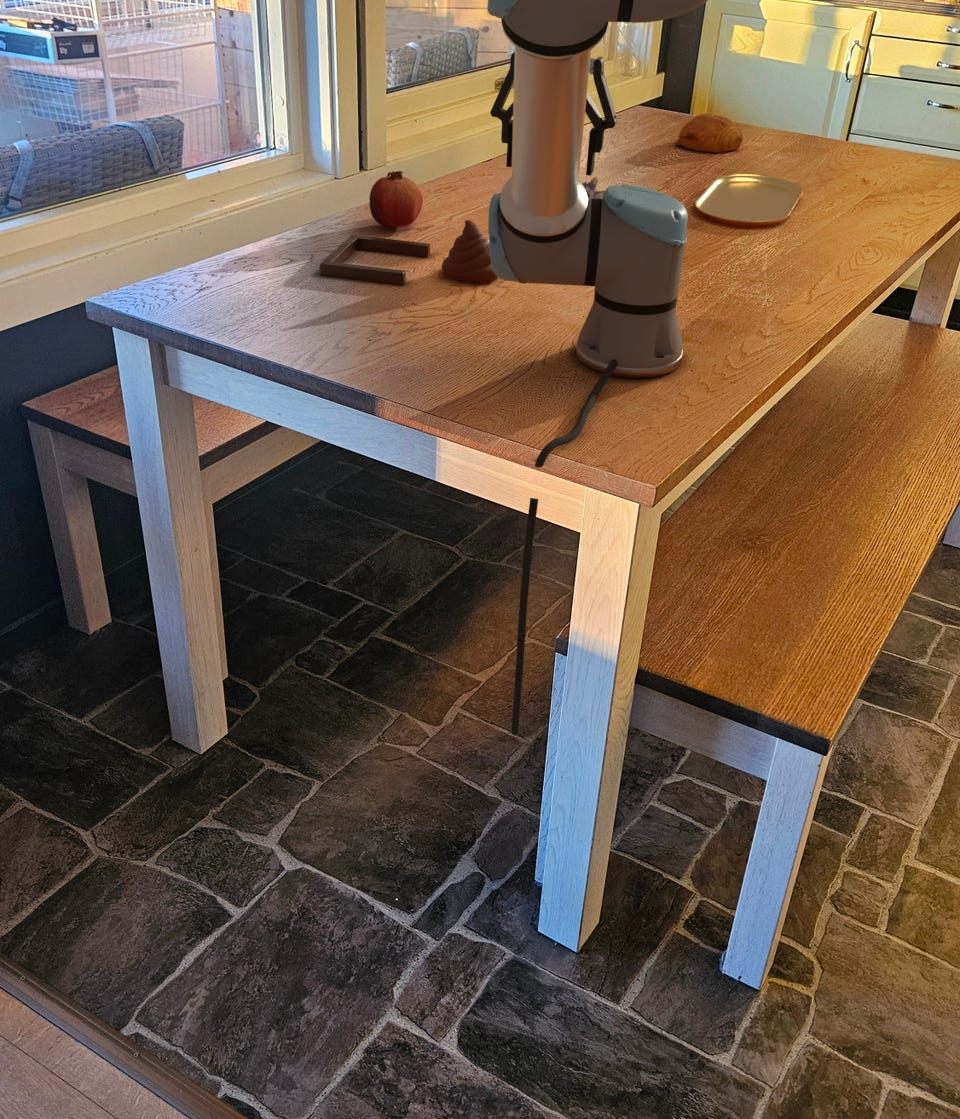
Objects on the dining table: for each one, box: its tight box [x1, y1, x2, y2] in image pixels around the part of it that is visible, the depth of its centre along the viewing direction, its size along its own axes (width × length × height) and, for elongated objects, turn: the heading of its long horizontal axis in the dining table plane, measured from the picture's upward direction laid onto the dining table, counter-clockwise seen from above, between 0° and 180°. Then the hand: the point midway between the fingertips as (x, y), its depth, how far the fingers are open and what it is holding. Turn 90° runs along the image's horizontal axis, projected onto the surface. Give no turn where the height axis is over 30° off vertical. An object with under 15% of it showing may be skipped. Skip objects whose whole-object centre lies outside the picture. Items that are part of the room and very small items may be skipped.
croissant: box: [677, 112, 743, 154], centre depth 261 cm, size 14×16×8 cm
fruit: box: [368, 170, 424, 228], centre depth 201 cm, size 11×10×10 cm
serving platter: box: [694, 173, 804, 228], centre depth 223 cm, size 19×35×2 cm, turn 157°
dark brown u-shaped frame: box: [319, 234, 431, 286], centre depth 186 cm, size 16×14×2 cm
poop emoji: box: [441, 219, 499, 284], centre depth 181 cm, size 10×8×9 cm
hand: (549, 169), depth 171 cm, fingers open, 12 cm apart
